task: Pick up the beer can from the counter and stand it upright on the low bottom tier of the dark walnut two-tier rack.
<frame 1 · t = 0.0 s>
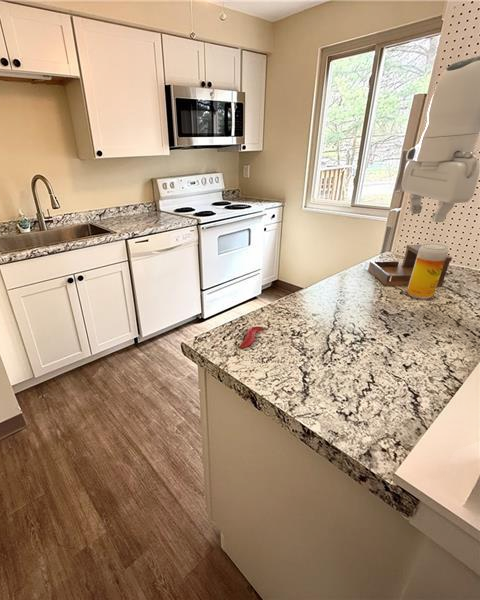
hand: (425, 217, 71), 26 cm above the countertop, tool pointing down, fingers open, 8 cm apart
rack: (403, 277, 103), on the countertop
cayenne pepper: (250, 337, 80), on the countertop
beer can: (419, 295, 92), on the countertop
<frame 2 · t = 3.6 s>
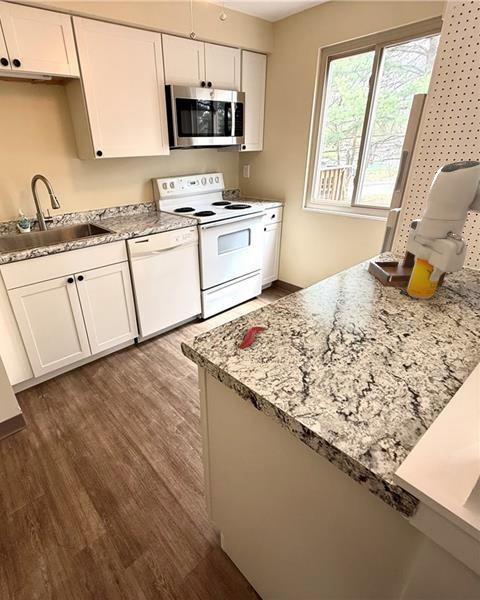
hand: (425, 275, 89), 6 cm above the countertop, tool pointing down, fingers closed on beer can, 6 cm apart
beer can: (418, 295, 92), on the countertop, touching gripper
everything else where it was.
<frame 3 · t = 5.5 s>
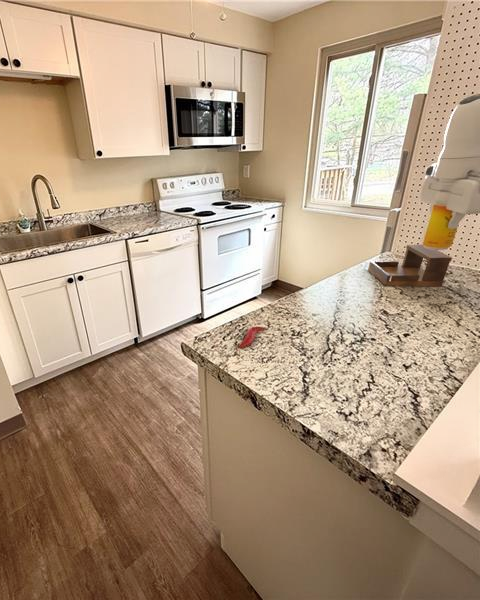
hand: (442, 225, 83), 21 cm above the countertop, tool pointing down, fingers closed on beer can, 6 cm apart
beer can: (435, 248, 85), point 14 cm above the countertop, touching gripper
everything else where it was.
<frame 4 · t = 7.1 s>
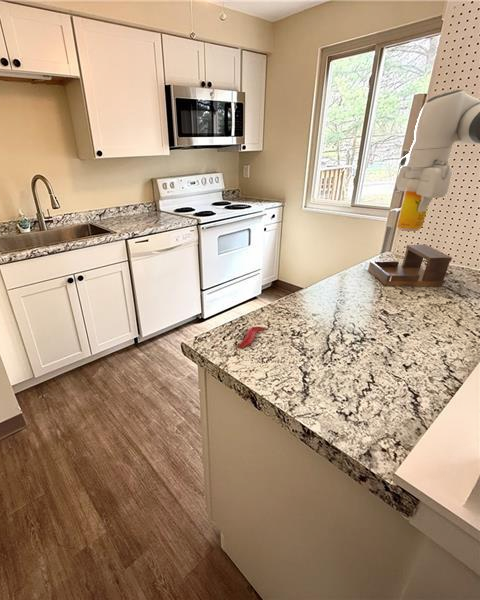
hand: (413, 209, 94), 23 cm above the countertop, tool pointing down, fingers closed on beer can, 6 cm apart
beer can: (408, 230, 96), point 16 cm above the countertop, touching gripper
everything else where it was.
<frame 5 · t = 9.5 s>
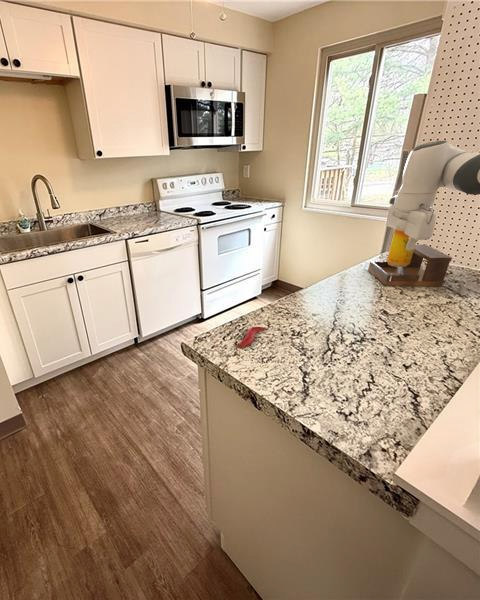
hand: (402, 246, 99), 11 cm above the countertop, tool pointing down, fingers closed on beer can, 6 cm apart
beer can: (397, 265, 102), point 5 cm above the countertop, touching gripper
everything else where it was.
when the fingers open (8 cm above the countertop, at t = 11.0 s): beer can stays where it is, resting on rack.
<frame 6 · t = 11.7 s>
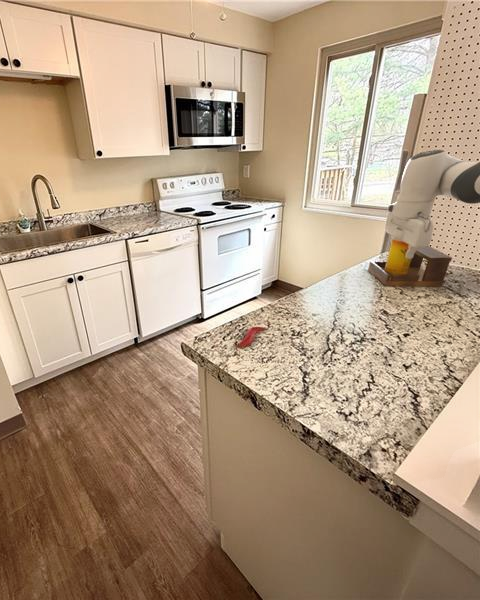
hand: (400, 253, 100), 9 cm above the countertop, tool pointing down, fingers open, 8 cm apart
beer can: (395, 274, 103), point 1 cm above the countertop, touching rack
everything else where it was.
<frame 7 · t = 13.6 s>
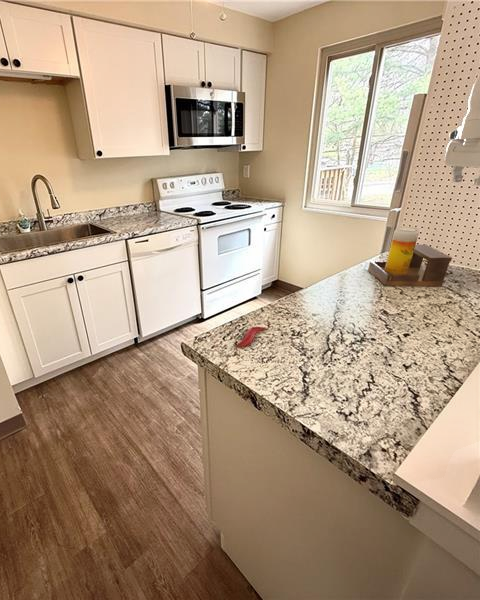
hand: (467, 183, 90), 29 cm above the countertop, tool pointing down, fingers open, 8 cm apart
nothing on the countertop moved.
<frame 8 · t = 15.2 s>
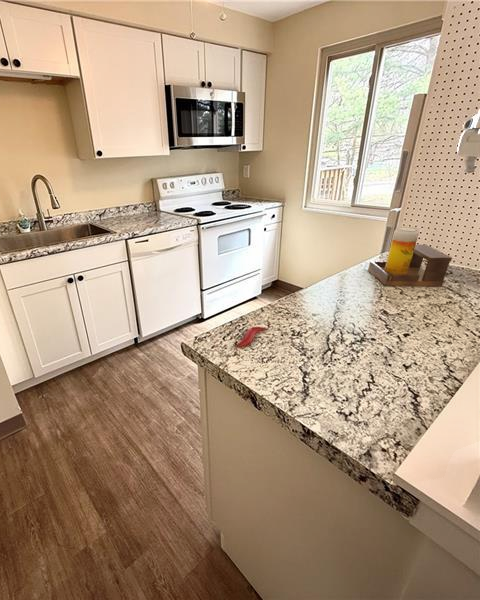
hand: (479, 174, 89), 31 cm above the countertop, tool pointing down, fingers open, 8 cm apart
nothing on the countertop moved.
at the end: beer can inside the target area on the rack (0.2 cm from its centre), point 1.3 cm above the rack's base; beer can tilted 0°; the gripper is holding nothing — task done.
